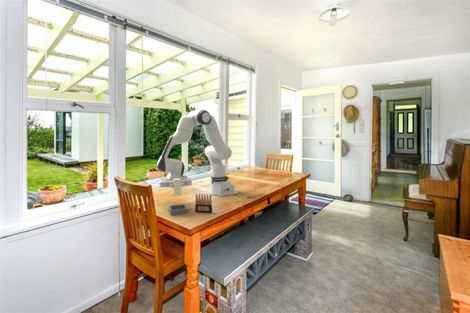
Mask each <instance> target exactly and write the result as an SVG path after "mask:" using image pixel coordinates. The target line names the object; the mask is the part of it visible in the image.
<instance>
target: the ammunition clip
mask: <svg viewBox="0 0 470 313" xmlns="http://www.w3.org/2000/svg"><path fill="white" fill-rule="evenodd" d="M194 202H195V206H194V207H195V209H194V212H195V213H204V214H212V213H213V204H212V203H213V201H212V195H211V194H210V193H209V194H208V193H204V194H203V193H201V194H200V193H195V201H194Z"/></svg>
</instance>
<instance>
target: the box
mask: <svg viewBox="0 0 470 313" xmlns="http://www.w3.org/2000/svg"><path fill="white" fill-rule="evenodd" d="M168 211H169V214H170V215H171V216H176V215H183V214H188V208H187V205H186V204H185V203H183V204H174V205H168Z"/></svg>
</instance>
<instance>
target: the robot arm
mask: <svg viewBox="0 0 470 313" xmlns="http://www.w3.org/2000/svg"><path fill="white" fill-rule="evenodd" d="M195 126H202V128H203V131H204V135H205V139H206V141H207V142H208V143H209V144H210V145H208V146H206V147H205V149H204V154H205V156H206V157H207V159H208V161H209V164H210V173H211V176H210V183H211V184H210V191H209V195H210V194H211V196H219V197H223V196H224V197H225V196H231V195H237V194H238V190H237V189H235V185H234V184H233V183H231V182H230V181H229V180H230V177H229V176H227V175H226V166H225V165H224V164H223V162H222V160H223V161H224V160H229V159H230V158H231V157H232V155H233V154H232V153H233V152H232V149H231V147H230V146H228V145H227V144H226V142H225V141H224V140H223V138H222V136H221V132H220V129H219V126H218V123H217V121H216V119H215V117H214V116H213V115H211V114H210V112H209V111H208V110H205V109H196V110H190V111H188V112H187V113H186V115H183V116H181V118H180V119H179V122H178V124H177V128H176V131H175V132H174V134H172V135H170V136H169V138H168V140H167V142H166V144H165V146H164V149H163V150H162V153H161V156H160V157H159V158H158V160H157V163H156V169H157V170H158V171H159V172H160V173H161V172H162V173H167V174H166V178H165V179H161V180H160V181H159V182H158V184H159V188H172V189H174V184H173V179H174V178H180V179H181V187H189V186H192V184H193V180H192V179H191V178H190V177H188V175H184V173H185V164H184V162H183V161H181V160H178V159H173V158H170V157H168V156H169V153H171V152H170V151H171V150H172V147H173V146H176V145H180V144H181V145H182V144H186V143H188V142H189V141H190V140H191V138H192V136H193V131H194V127H195Z"/></svg>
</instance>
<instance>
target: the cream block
mask: <svg viewBox="0 0 470 313" xmlns="http://www.w3.org/2000/svg"><path fill="white" fill-rule="evenodd" d="M173 184H174V188H173V196H174V197H175V196H176V197H177V196H181V195H182V186H181V179H180V178H174V179H173Z"/></svg>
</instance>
